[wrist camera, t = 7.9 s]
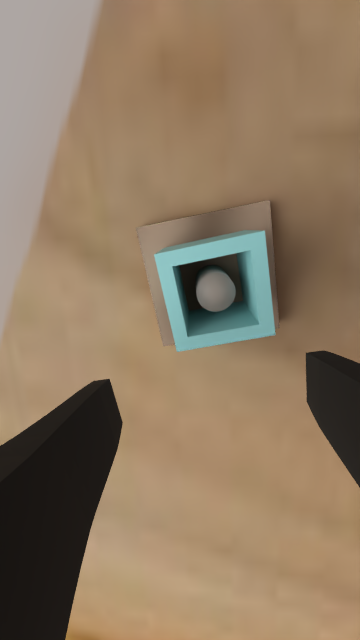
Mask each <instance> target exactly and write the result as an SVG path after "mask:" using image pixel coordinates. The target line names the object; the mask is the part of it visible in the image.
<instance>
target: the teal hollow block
mask: <svg viewBox="0 0 360 640" xmlns="http://www.w3.org/2000/svg"><path fill="white" fill-rule="evenodd" d="M235 253H236V254H237V262H238V269H239V276H240V283H241V290H242V298H243V301H238V302H233V303H232V304H231V305H230V306H229V307H228V308H226V309H224V310H222V311H217V312H213V311H209V310H206V309H205V308H201V309H196V310H191V311H189V310H188V305H187V300H186V295H185V290H184V286H183V281H182V276H181V271H180V267H179V265H182V264H187V263H192V262H196V261H201V260H206V259H211V258H216V257H220V256H225V255H230V254H235ZM154 257H155V261H156V265H157V270H158V274H159V278H160V282H161V286H162V291H163V295H164V299H165V303H166V308H167V312H168V316H169V320H170V324H171V329H172V333H173V337H174V341H175V346H176V350H177V352H179V351H185V350H191V349H196V348H202V347H208V346H214V345H220V344H225V343H231V342H237V341H243V340H249V339H254V338H260V337H266V336H272V335H275V325H274V316H273V306H272V296H271V286H270V277H269V267H268V257H267V247H266V238H265V231H262V230H243V231H239V232H234V233H230V234H225V235H220V236H216V237H211V238H207V239H202V240H198V241H193V242H188V243H184V244H179V245H175V246H170V247H165V248H163V249H161V250H160V251H158V252H157V253H155V254H154Z"/></svg>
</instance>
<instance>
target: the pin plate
mask: <svg viewBox="0 0 360 640" xmlns="http://www.w3.org/2000/svg"><path fill="white" fill-rule="evenodd" d="M136 230H137V235H138V239H139V243H140V248H141V252H142V256H143V260H144V265H145V269H146V273H147V278H148V282H149V286H150V291H151V295H152V299H153V304H154V308H155V312H156V316H157V321H158V325H159V329H160V334H161V338H162V342H163V346H168V345H174V344H175V341H174V337H173V333H172V329H171V324H170V320H169V316H168V312H167V308H166V303H165V299H164V295H163V291H162V286H161V282H160V278H159V274H158V270H157V265H156V261H155V257H154V254H155V253H157V252H158V251H160V250H161V249H163V248H165V247H170V246H175V245H179V244H184V243H188V242H193V241H198V240H202V239H207V238H211V237H216V236H220V235H225V234H230V233H234V232H239V231H243V230H262V231H265V238H266V247H267V257H268V267H269V277H270V286H271V296H272V306H273V316H274V325H275V329H276V328H280V327H279V314H278V301H277V288H276V274H275V261H274V248H273V234H272V221H271V208H270V200H267V201H262V202H257V203H253V204H248V205H243V206H238V207H233V208H229V209H224V210H219V211H214V212H209V213H205V214H200V215H195V216H190V217H185V218H180V219H176V220H171V221H166V222H161V223H156V224H152V225H147V226H142V227H137V228H136ZM179 267H180V271H181V276H182V281H183V286H184V290H185V295H186V300H187V305H188V310H189V311H191V310H196V309H201V308H205V309H206V310H209V311H213V312H217V311H222V310H224V309H226V308H228V307H229V306H230V305H231V304H232V303H233V302H238V301H243V298H242V290H241V283H240V276H239V269H238V262H237V254H236V253H235V254H230V255H225V256H220V257H216V258H211V259H206V260H201V261H196V262H192V263H187V264H182V265H179Z"/></svg>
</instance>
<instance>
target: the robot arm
mask: <svg viewBox="0 0 360 640" xmlns="http://www.w3.org/2000/svg"><path fill="white" fill-rule="evenodd" d="M306 382H307V403H308V405H309V407H310V409H311V411H312V413H313V416H314V417H315V419H316V421H317V423H318V425H319V427H320V429H321V430H322V432H323V433H324V435H325V436H326V438H327V440H328V441H329V443H330V444H331V446H332V447H333V449H334V450H335V452H336V453H337V455H338V456H339V457H340V459H341V460H342V462H343V463H344V465H345V466H346V468H347V469H348V471H349V472H350V474H351V475H352V477H353V478H354V480H355V481H356V483H357V484H358V486H359V487H360V363H357V362H355V361H352V360H349V359H347V358H344V357H342V356H339V355H336V354H334V353H331V352H327V351H317V352H309V353H306ZM121 429H122V419H121V416H120V413H119V409H118V406H117V402H116V399H115V396H114V392H113V389H112V386H111V382H110V379H105V380H98V381H93V382H91V383H90V384H88V385H87V386H85V387H84V388H82V389H81V390H79V391H78V392H77V393H75V394H74V395H73V396H71V397H70V398H69V399H67V400H66V401H65V402H63V403H62V404H61V405H59V406H58V407H57V408H55V409H54V410H53V411H51V412H50V413H48V414H47V415H46V416H44V417H43V418H41V419H40V420H38V421H37V422H36V423H34V424H33V425H31V426H30V427H28V428H27V429H26V430H24V431H23V432H21V433H20V434H18V435H17V436H15V437H14V438H12V439H11V440H9V441H7V442H6V443H4V444H3V445H1V446H0V640H65V638H66V633H67V628H68V623H69V618H70V613H71V609H72V604H73V600H74V595H75V591H76V587H77V582H78V578H79V573H80V569H81V565H82V561H83V557H84V553H85V549H86V545H87V541H88V537H89V533H90V529H91V526H92V522H93V519H94V516H95V513H96V510H97V507H98V504H99V501H100V498H101V495H102V492H103V490H104V487H105V484H106V481H107V478H108V475H109V472H110V469H111V466H112V464H113V461H114V458H115V455H116V452H117V448H118V444H119V439H120V434H121Z"/></svg>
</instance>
